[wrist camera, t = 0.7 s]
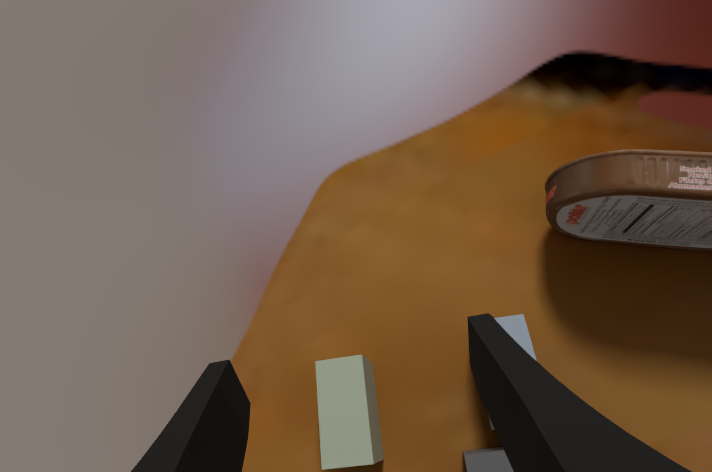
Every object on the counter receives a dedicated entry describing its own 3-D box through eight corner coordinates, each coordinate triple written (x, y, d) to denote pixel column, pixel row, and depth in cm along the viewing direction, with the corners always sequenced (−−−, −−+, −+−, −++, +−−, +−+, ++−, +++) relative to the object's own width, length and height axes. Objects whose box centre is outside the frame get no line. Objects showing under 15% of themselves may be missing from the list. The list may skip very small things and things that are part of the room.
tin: (778, 223, 28) (900, 147, 20) (787, 268, 26) (920, 205, 19) (534, 206, 32) (560, 137, 24) (533, 243, 30) (559, 184, 23)
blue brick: (540, 424, 26) (554, 423, 22) (491, 429, 26) (496, 430, 23) (514, 328, 28) (523, 314, 25) (470, 334, 29) (472, 321, 25)
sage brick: (384, 459, 27) (373, 464, 23) (338, 464, 27) (321, 469, 24) (372, 363, 29) (361, 354, 26) (331, 369, 30) (315, 361, 26)
